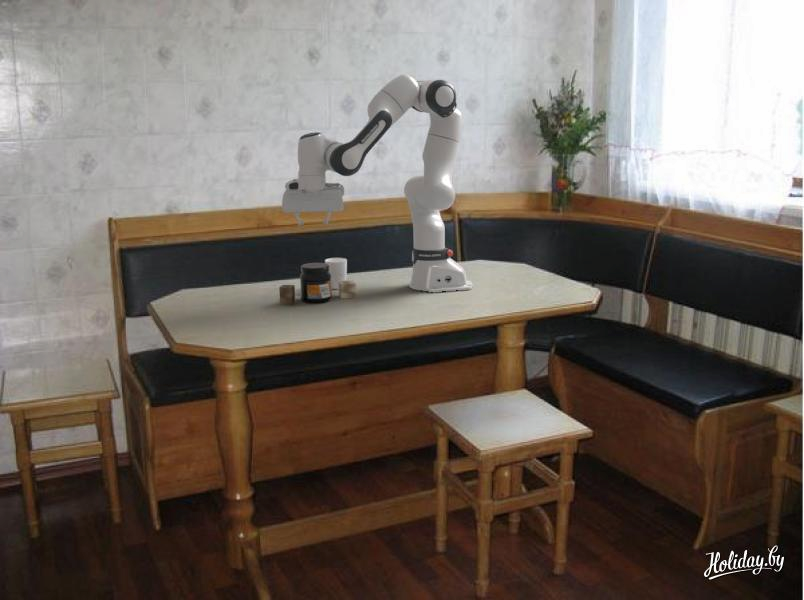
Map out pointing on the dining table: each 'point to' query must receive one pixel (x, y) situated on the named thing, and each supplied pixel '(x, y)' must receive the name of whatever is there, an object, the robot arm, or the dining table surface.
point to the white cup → (337, 271)
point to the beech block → (347, 289)
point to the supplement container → (315, 283)
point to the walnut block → (287, 294)
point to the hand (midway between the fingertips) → (313, 225)
